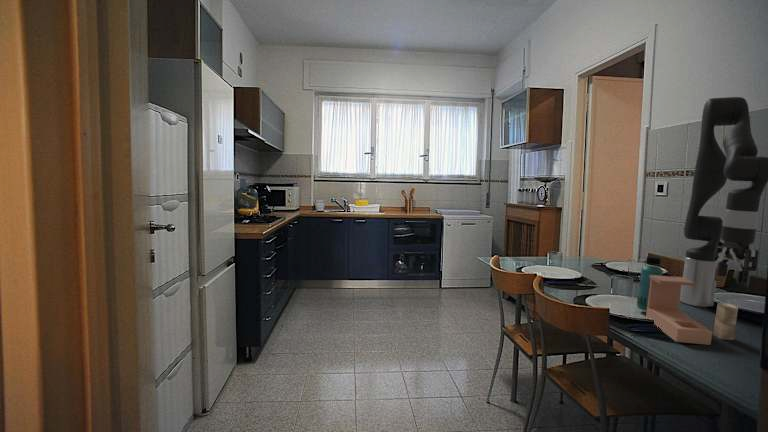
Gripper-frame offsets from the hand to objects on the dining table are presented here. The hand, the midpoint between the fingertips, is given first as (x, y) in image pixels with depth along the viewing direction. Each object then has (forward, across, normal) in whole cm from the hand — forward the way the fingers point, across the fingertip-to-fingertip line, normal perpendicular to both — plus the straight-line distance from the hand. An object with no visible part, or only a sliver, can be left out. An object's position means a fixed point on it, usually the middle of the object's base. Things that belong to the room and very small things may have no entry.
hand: (731, 279), depth 118 cm
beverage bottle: (+18, +17, +13) cm, 28 cm away
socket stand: (+18, +2, +12) cm, 21 cm away
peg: (+18, 0, 0) cm, 18 cm away
